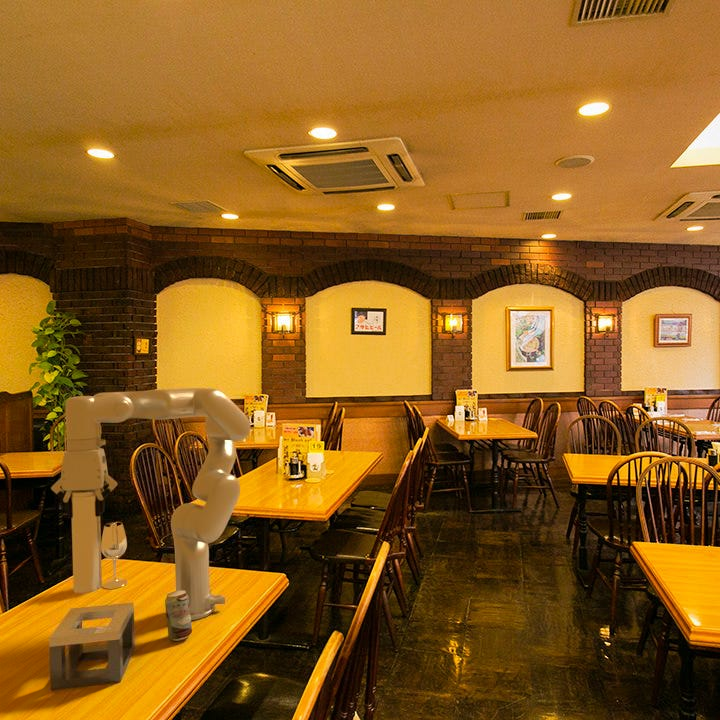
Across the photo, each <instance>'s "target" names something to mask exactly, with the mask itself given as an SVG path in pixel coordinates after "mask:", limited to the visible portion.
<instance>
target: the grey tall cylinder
mask: <svg viewBox="0 0 720 720" xmlns="http://www.w3.org/2000/svg"><path fill="white" fill-rule="evenodd" d="M97 500H98V498H97V496H96V494H95V492H94V490H88V491H73V492H72V496H71V512H72V517H71V539H72V542H71V543H72V544H71V545H72V546H71V548H72V575H73V576H72V578H73V579H72V580H73V581H72V583H73V585H72V586H73V592H74V593H75V594H89V593H93V592H95V591H97V590H99V589H101V588H103V577H102V576H103V575H102V573H103V571H102V550H101V542H102V536H101V532H102V531H101V516H98V517H97V516H96V501H97Z"/></svg>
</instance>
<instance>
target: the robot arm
mask: <svg viewBox="0 0 720 720" xmlns="http://www.w3.org/2000/svg"><path fill="white" fill-rule="evenodd" d="M197 417H199V418H200V417H201V418H205V422H204V430H205V433H206V436H207V439H208V442H209V449H208V453H207V456H206V458H205V460H204V461H203V464H202V465H201V468H200V470H199V472H198V473H197V476H196V477H195V480H194V481H193V484H192V486H191V487H192V489H191V491H192V495H193V497H195V498H196V499H197V500H198V501H200V502H204V503H205V504H204V505H201V504H197V503H193V502H187V503H183V504H181V505H179V506H178V507H176V509H174V511H173V513H172V515H171V519H170V527H171V533H172V537H173V538H172V539H173V543H174V544H173V545H174V565H175V566H174V567H175V569H174V571H175V591H179V590H185V591H186V593H187V594H188V596H189V606H190V615H191V621H196V620H200V619H203V618H206V617H208V616H209V615H211V614H212V613H214V611H215V610H216V605H224V604H226V596H223V595H222V594H215V595H214V594H212V589H211V588H210V560H209V559H210V551H209V550H210V549H209V544H211V543H214V542H215V541H217V540H218V539H219V538H220V536H221V535H222V534H223V533H224V531H225V529H226V527H227V526H228V522H229V520H230V519H231V516H232V514H233V513H234V510H235V507H236V506H237V504H238V500H239V498H240V494H241V486H240V485H241V484H240V481H239V479H238V478H237V477H236V476H235V475H233V474H231V471H232V470H233V467H234V464H235V462H236V460H237V459H236V458H237V449H236V444H235V443H238V442H242V441H243V440H244V441H245V439H247V438H248V437H249V435H250V434H251V433H250V432H251V427H252V426H251V422H250V420H249V418H248V416H247V415H246V414H245V413H244V412H243V411H242V410H241V409H240V407H238V405H236V404H235V402H233V401H232V400H231V399H230V397H228V395H226V394H225V393H224V392H222V391H221V390H219V389H217V388H204V387H196V388H195V387H194V388H191V387H190V388H169V389H166V388H165V389H162V388H161V389H150V390H140V391H139V390H137V391H113V392H109V391H108V392H99V393H96V394H94V395H93V396H92V395H78V396H72V397H69V398H67V399H66V401H65V430H66V451H64V452H63V455H62V456H63V457H62V463H61V474H60V478H59V479H58V480H57V481H56V482H55V483H54V484H53V485H52V486H51V487H50V489H51V491H53V493H55V494H56V495H57V496H58V497H59V498H60V499H61V500H62V501H63V503H64V504H65V505H64V506H65V508H64V509H65V515H67V516H66V518H67V519H72V512H71V496H72V492H73V491H88V490H94V492H95V494H96V496H97V498H98V500H97V501H96V516H97V517H98V516H100V517H101V516H103V513H104V512H105V511H106V502H105V498H107V496H108V495H110V493H111V492H112V491H113V490H114V489H116V487H117V486H118V482H117V480H115V479H114V478H113V477H111V476H110V475H109V472H108V465H107V458H106V453H105V450H104V448H101V447H102V446H106V445H107V444H106V443H107V442H106V441H107V440H106V439H103V438H102V439H101V436H100V435H101V434H100V424H101V423H109V424H110V423H112V424H113V423H122V422H124V421H126V420H129V419H147V420H156V421H157V420H159V421H160V420H173V419H184V418H197ZM106 485H108V487H107V488H106V489H104V486H106ZM210 589H211V590H210Z"/></svg>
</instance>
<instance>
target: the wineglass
mask: <svg viewBox="0 0 720 720" xmlns="http://www.w3.org/2000/svg"><path fill="white" fill-rule="evenodd" d="M127 547H128V542H127V536H126V531H125V528H124V525H123V522H121V521H115V522H114V521H113V522H108V523H106V524H105V525H103V532H102V536H101V554H103V556H104V557H105V558H108V559H109V560H111V561H112V563H113V565H112V566H113V577H112V578H113V579H111V580H108V581H106V582H104V583H102V588H103V589H106V590H113V589H114V590H115V589H119V588H122V587H124V586H126V585H128V580H127V579H124V578H117V559H119V558H120V557H122V555H124V554H125V552H126V550H127Z"/></svg>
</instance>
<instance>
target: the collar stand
mask: <svg viewBox="0 0 720 720" xmlns="http://www.w3.org/2000/svg"><path fill="white" fill-rule="evenodd" d="M103 619H111V620H110V622H108V625H102V626H101V625H99V626H90V627H83V622H84V621H92V620H103ZM135 639H136V638H135V603H134V601H133V602H125V603H115V604H104V605H103V604H102V605H94V606H83V607H82V606H81V607H73V608H72V607H71V608H70V609H69V611H68V612H67V613H66V615H65V616H64V617H63V619H62V620H61V621H60V623H59V624H58V625H57V626H56V628H55V629H54V631H53V632H52V633H51V635H50V636H49V637H48V642H49V643H48V645H49V646H48V647H49V677H50V678H49V679H50V691H57V690H67V689H74V688H83V687H84V688H85V687H91V686H101V685H108V684H115V683H116V684H117V683H121V682H122V680H123V678H124V674H125V673H126V670H127V668H128V665H129V664H130V661H131V659H132V656H133V654H134V651H135V648H136V644H135V643H136V641H135ZM98 642H99V643H100V642H107V643H104V644H95V645H93V644H92V645H85V646H84V644H89V643H98ZM66 646H68V654H67V655H66ZM101 659H102V660H103V659H108V667H103V668H95V669H85V670H78V669H79V667H80V665H81V664H82V662H84V661H92V660H93V661H94V660H101Z"/></svg>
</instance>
